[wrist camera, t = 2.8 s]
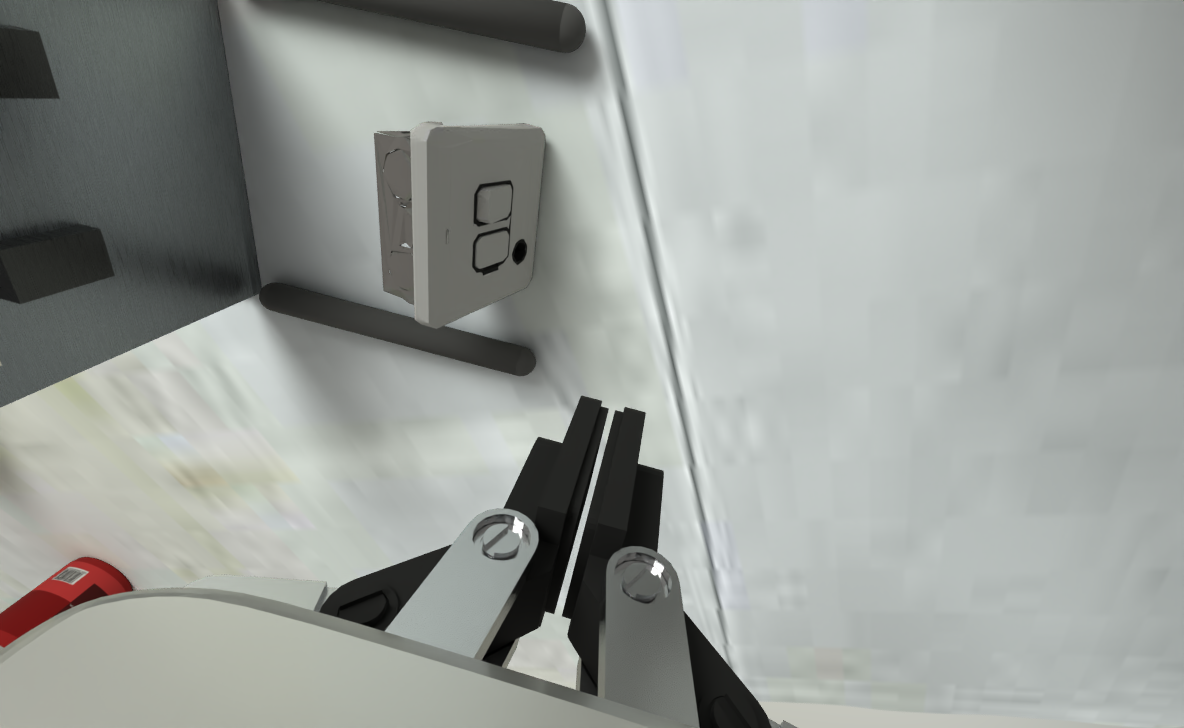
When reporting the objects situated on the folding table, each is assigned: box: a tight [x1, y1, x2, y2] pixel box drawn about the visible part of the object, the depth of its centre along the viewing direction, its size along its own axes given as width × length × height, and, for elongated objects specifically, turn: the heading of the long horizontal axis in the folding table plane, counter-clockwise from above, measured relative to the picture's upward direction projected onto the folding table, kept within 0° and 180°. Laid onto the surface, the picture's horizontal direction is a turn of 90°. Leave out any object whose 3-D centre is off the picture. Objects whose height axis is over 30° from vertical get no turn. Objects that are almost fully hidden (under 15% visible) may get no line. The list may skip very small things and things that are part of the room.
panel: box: [0, 0, 262, 407], centre depth 23 cm, size 5×20×18 cm, turn 168°
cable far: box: [259, 283, 536, 376], centre depth 34 cm, size 20×2×2 cm, turn 78°
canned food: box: [0, 557, 132, 650], centre depth 55 cm, size 8×8×11 cm
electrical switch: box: [374, 122, 545, 329], centre depth 26 cm, size 9×5×9 cm, turn 170°
